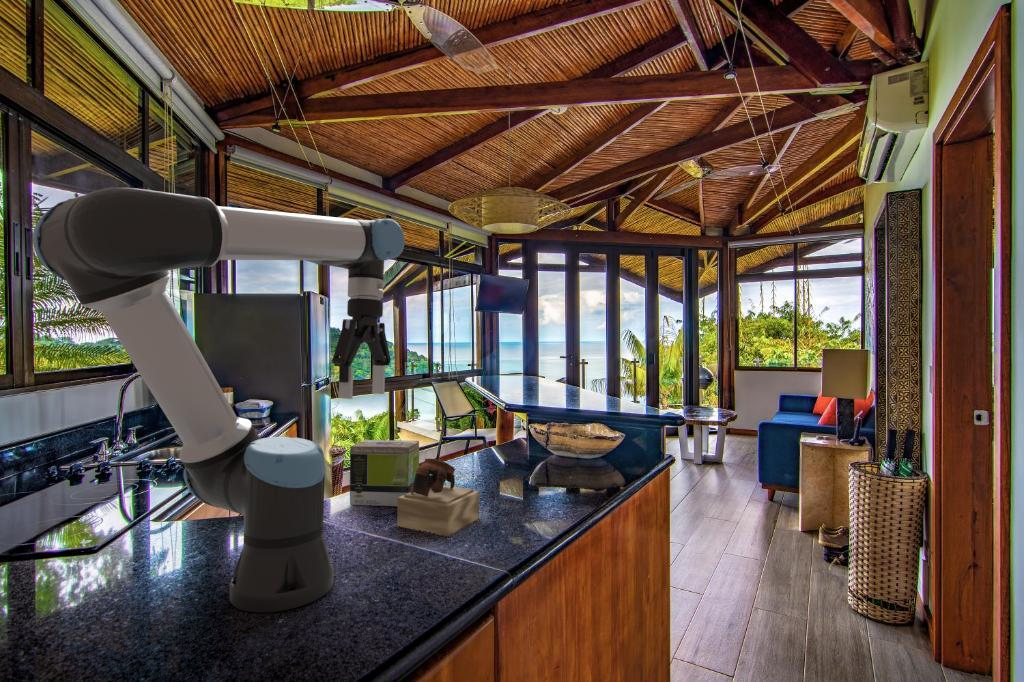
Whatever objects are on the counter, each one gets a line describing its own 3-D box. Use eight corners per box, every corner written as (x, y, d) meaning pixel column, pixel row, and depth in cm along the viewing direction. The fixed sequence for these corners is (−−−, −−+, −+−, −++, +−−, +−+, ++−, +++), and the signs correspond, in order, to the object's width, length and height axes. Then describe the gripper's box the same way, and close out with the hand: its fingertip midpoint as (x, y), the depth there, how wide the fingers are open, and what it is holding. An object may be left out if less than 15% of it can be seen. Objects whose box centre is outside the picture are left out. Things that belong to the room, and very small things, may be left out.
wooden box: (447, 538, 107) (447, 503, 107) (397, 527, 113) (397, 495, 113) (478, 519, 119) (479, 489, 119) (431, 511, 125) (432, 481, 125)
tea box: (419, 496, 135) (420, 439, 135) (408, 508, 125) (409, 447, 125) (363, 494, 137) (364, 438, 137) (348, 505, 127) (349, 445, 127)
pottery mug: (402, 491, 117) (415, 457, 121) (438, 506, 121) (450, 472, 124) (420, 490, 107) (434, 452, 111) (459, 506, 111) (471, 469, 114)
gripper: (349, 292, 101) (346, 401, 101) (406, 304, 125) (404, 392, 125) (315, 292, 103) (312, 399, 103) (378, 304, 127) (375, 391, 127)
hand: (362, 396), depth 114 cm, fingers open, 13 cm apart
